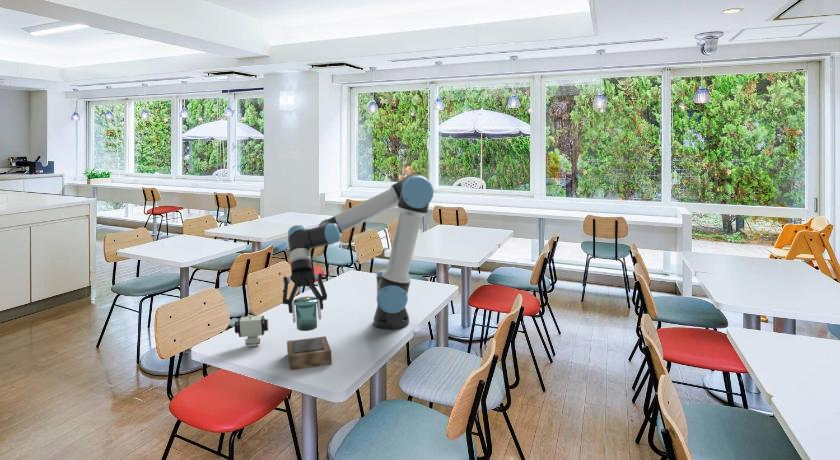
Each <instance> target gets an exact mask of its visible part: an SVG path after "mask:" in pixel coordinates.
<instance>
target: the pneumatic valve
mask: <svg viewBox="0 0 840 460" xmlns="http://www.w3.org/2000/svg"><path fill="white" fill-rule="evenodd" d="M233 328H234V333H235V334H237V335H238V337H239V338H244V337H245V340H244V343H245V346H246V347H247V348H257V347H258V346H259V345H260V344H261V337H260V336H264V335H265V332H267V331H269V319H266V318H265V315H252V314H251V315H250V314H249V316H240V317H239V319H238V321H235V322H234V326H233Z"/></svg>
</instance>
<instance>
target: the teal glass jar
mask: <svg viewBox="0 0 840 460" xmlns="http://www.w3.org/2000/svg"><path fill="white" fill-rule="evenodd" d="M293 302H294V306H295V317H296V329H297V330H298V331H301V332H309V331H314V330H315V329H317V328H318V317H317V315H318V311H317V298H316V297H315V296H301V297H296V298H294V300H293Z"/></svg>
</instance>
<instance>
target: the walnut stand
mask: <svg viewBox="0 0 840 460" xmlns="http://www.w3.org/2000/svg"><path fill="white" fill-rule="evenodd" d="M286 347H287V349H286V351H287V357H288V364H289V370H290V371H297V370H302V369H303V370H304V369H311V368H316V367H323V366H330V365H332V364H333V363H332V362H333V360H332V349H331V346H330V343H329V341H328V339H327V336H326V335H324V336H317V337H316V336H315V337H309V338H301V339H294V340H287V341H286Z"/></svg>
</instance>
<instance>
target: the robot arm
mask: <svg viewBox="0 0 840 460" xmlns="http://www.w3.org/2000/svg"><path fill="white" fill-rule="evenodd" d="M433 198H434V186H433V184H432V182H431V181H430V180H429V179H428V178H427V177H425V176H423V175H422V174H419V173H411V174H408V175H407V176H405V177H403V178H402V179H401V180H399V181H398V182H396V183H393V184H391V186H390V188H389V189H387V190H385V191H383V192H381V193H379V194H376V195H375V196H373V197H370V198H369V199H366V200H363V202H361V203H358V204H356V205H354V206H353V207H350V208H348V209H345V210H344V211H342V212H340V213H337V214H335V215H334V216H332V217H330V218H327V219H326V218H325V219H324V220H321V222H319V224H318V226H317V227H313V228H308V227H306V226H305V225H302V224H300V225H298V224H296V225H293V226H291V227H290V228H289V229H288V231H287V243H288V250H289V260H290V271H291V275H290V276H288V277H287V276H283V284H284V286H283V294H282V305H287V307H288V313H289V314H292V322H293V324H294V323H297V321H296V306H295V305H294V300H295V296H296V295H297V291H298V289H299V288H301V287H308V288H309V290H310V291H311V292H312V293H313V295H314V297H315V298H317V303H316V310H317V315H318V317H317V318H318V320H322V310H324V301H327V299H328V294H327V291H326V288H325V286H324V285H325V284H324V282H323V279H322V278H323V274H322V273H319V274H315V273H314V271H313V264H312V256H311V255H312V254H311V250H312V249H315V248H320V247H325V246H328V245H329V246H330V245H334V244H337V243H339V242H340V241H341V239H342V238H341V234H343V233H344V232H347V231H348V230H351V229H352V228H355V227H357V226H359V225H361V224H363V223H365V222H367V221H369V220H371V219H374V218H376V217H378V216H380V215H381V214H384V213H385V212H387V211H390V210H392V209H394V208H396V207H397V208H398V210H399V212H400V213H399V216H398V221H397V224H396V229H395V233H394V237H393V240H392V241H393V242H392V245H391V250H390V255H389V259H388V262H387V268H386V269H381V270H378V271H377V272H376V276H375V278H376V302H377V303H376V306H377V307H376V309H375V312H374V315H373V325H374V326H375V327H377V328H379V329H384V330H385V329H386V330H396V329H402V328H405V327H406V326H408V325H409V324H410V315H409V313H408V310H407V305H408V301H409V299H408V298H409V296H408V294H409V289H410V284H411V279H410V277H409V272H410V268H411V263H412V260H413V255H414V252H415V247H416V243H417V240H418V236H419V231H420V226H421V222H422V219H423V217H424V216H425V215H427V214H428V211H429V206H430V203H431V201H432V199H433ZM314 279H315V280H316V281H317V284H318V287H319V290H320V292H319V290H318V288H317V287H316V285H315V284H314V282H313V280H314ZM291 281H292V282H293V284H294V285H293V288H292V289H291V293H290V295H289V297H288V289H289V284H290V282H291Z"/></svg>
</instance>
